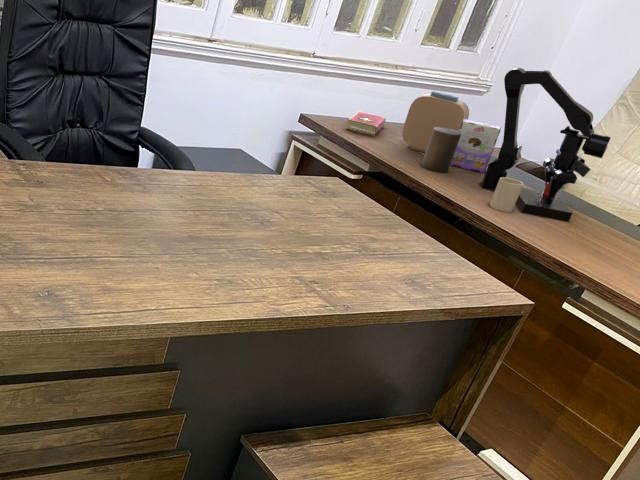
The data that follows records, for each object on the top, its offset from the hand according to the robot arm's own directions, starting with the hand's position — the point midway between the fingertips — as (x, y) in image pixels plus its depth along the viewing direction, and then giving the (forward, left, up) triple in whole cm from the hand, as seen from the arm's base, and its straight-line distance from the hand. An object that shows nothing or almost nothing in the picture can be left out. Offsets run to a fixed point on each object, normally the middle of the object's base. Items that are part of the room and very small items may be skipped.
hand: (548, 195), depth 268 cm
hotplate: (-4, -7, -3) cm, 8 cm away
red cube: (0, 0, 0) cm, 0 cm away
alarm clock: (-35, +44, -3) cm, 57 cm away
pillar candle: (-35, +19, -3) cm, 40 cm away
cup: (-18, -16, -3) cm, 24 cm away
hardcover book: (-58, +63, -3) cm, 86 cm away
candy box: (-22, +29, -3) cm, 37 cm away
